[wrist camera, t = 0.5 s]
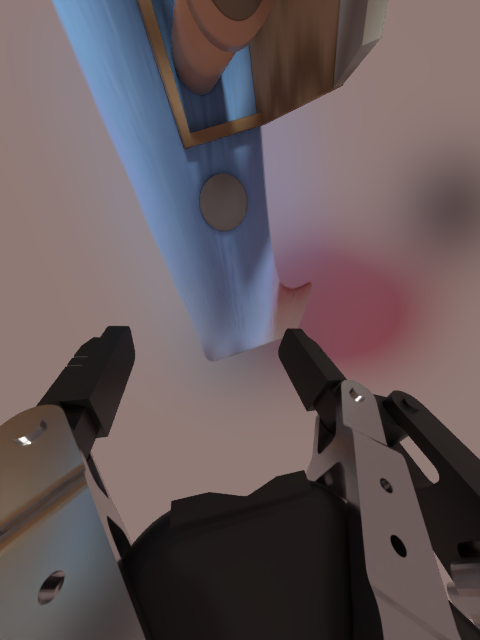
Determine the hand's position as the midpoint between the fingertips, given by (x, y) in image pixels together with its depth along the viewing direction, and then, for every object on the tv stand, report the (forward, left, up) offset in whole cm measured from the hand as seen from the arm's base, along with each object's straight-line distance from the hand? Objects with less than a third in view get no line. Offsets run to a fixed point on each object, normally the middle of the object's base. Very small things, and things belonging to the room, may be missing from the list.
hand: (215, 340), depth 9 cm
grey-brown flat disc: (+2, +8, -24) cm, 25 cm away
